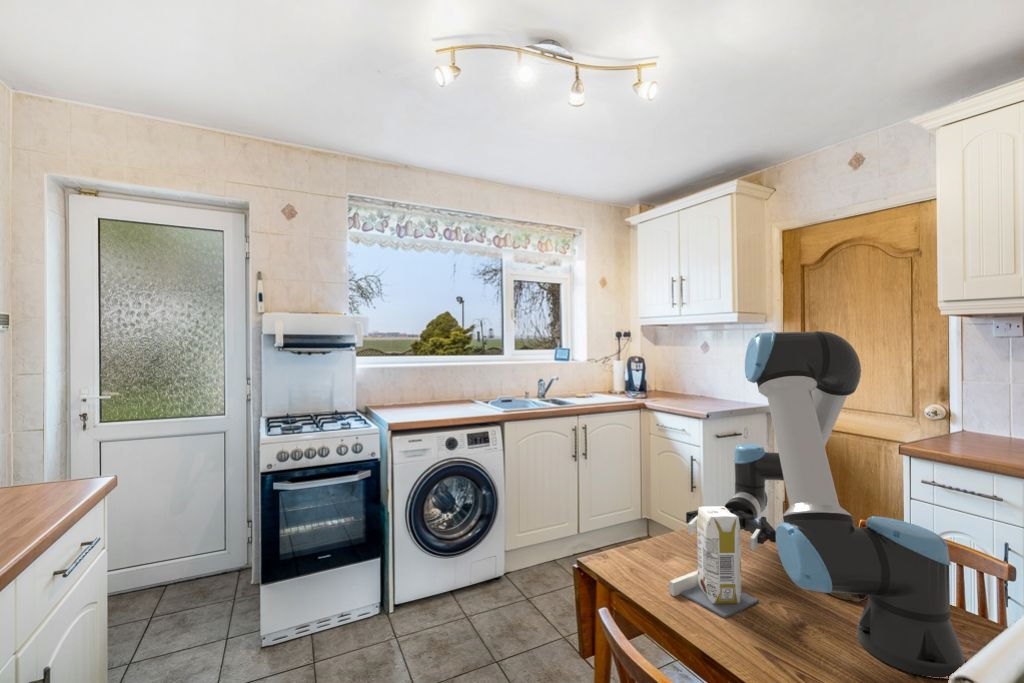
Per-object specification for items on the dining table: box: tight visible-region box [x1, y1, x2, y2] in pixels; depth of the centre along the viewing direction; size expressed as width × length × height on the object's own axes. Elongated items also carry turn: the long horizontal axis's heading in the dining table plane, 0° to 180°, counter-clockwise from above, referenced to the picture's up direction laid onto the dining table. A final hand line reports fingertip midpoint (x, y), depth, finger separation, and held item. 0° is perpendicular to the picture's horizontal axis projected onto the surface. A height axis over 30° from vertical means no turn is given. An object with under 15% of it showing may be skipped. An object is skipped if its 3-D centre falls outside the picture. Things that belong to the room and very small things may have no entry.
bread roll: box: [829, 592, 868, 603], centre depth 109 cm, size 10×10×8 cm
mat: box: [680, 586, 759, 619], centre depth 106 cm, size 11×12×1 cm
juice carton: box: [696, 505, 742, 604], centre depth 106 cm, size 8×9×19 cm
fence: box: [668, 569, 699, 597], centre depth 112 cm, size 1×16×3 cm, turn 121°
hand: (719, 537), depth 108 cm, fingers open, 13 cm apart
